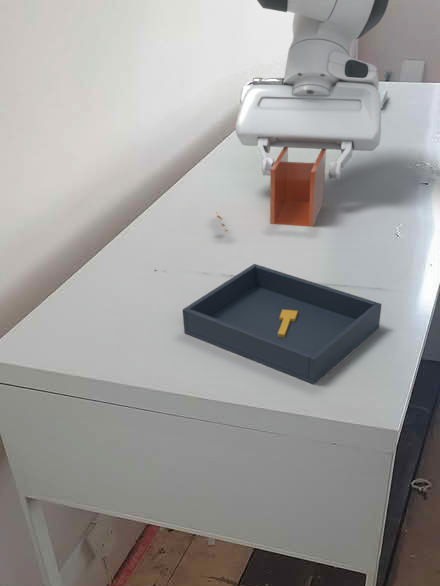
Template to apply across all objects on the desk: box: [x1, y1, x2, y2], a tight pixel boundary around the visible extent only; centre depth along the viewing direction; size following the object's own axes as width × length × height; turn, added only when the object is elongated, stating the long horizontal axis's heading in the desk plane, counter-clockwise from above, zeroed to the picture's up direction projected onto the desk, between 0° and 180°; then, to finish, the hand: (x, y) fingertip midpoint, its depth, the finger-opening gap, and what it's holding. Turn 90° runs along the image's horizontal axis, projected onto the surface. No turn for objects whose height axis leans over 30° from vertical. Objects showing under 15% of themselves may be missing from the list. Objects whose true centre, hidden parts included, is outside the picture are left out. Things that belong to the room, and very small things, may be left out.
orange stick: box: [215, 211, 228, 232], centre depth 101 cm, size 8×1×1 cm, turn 10°
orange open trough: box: [269, 147, 327, 228], centre depth 100 cm, size 9×6×8 cm, turn 165°
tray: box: [182, 263, 382, 385], centre depth 79 cm, size 17×13×3 cm
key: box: [278, 310, 298, 337], centre depth 80 cm, size 5×2×1 cm, turn 165°
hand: (300, 175), depth 100 cm, fingers open, 8 cm apart
